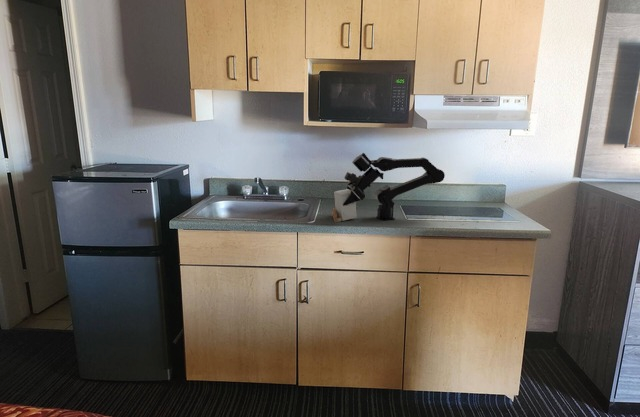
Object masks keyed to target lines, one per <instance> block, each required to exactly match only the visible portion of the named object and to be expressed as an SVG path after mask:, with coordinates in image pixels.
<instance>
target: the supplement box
mask: <svg viewBox="0 0 640 417" xmlns="http://www.w3.org/2000/svg"><path fill="white" fill-rule="evenodd" d="M350 191H351V190H349V189H347V188H346V189H342V190H341V189H339V190H336V191H334V192H333V194H334V203H335V204H334V205H335V207H334V208H335V210H336V212H337V218H341V222H344V221H347V220H352V219H357V217H358V216H357V202H354V203H351V204H348V205H345V206H344V205H343V203H344V202H345V201H346V199H347V198H348V197H349V196H350ZM353 192H354V191H353Z"/></svg>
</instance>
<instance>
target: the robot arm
mask: <svg viewBox="0 0 640 417" xmlns="http://www.w3.org/2000/svg"><path fill="white" fill-rule="evenodd" d="M352 164H353V166H355V167H356V169H357V170H358V171H359V172H364V173H363V174H362V175H358V176H357V175H356V174H355V173H354V172H352V173H350V172H348V171H347V172H346V173H345V176H344V180H345V181H348V182H347V183H346V189H349V190H351V191H350V196H349V197H348V198H347V199H346V201H345V202H344V203H343V205H344V206H345V205H348V204H351V203H354V202H356V203H357V202H358V201H363V200H364V199H365V198H366V193H365V191H366V190H367V189H368V188H370V187H371V186H372V184H373V183H374V182H375V181H376V180H377V179H378V178H380V179H381V180H383V179H384V173H383V172H388V171H392V170H396V169H405V168H422V169H423V170H424V171H425V172H424V173H423V174H422V175H420V176H417V177H415V178H413V179H410V180H407V181H404V182H402V183H399V184H398V185H394V186H389V185H388V184H386V185H384V186H382V187H378V189H377V190H376V192H375V193H374V194H375V195H374V196H375V199H376V200H377V202H379V205H378V208H377V213H376V214H377V215H376V216H375V217H376V218H377V219H379V220H382V221H390V220H391V221H392V220H395V219H396V218H395V217H394V208H395V203H396V202H394V201H393V199H395V198H396V197H398V196H399V195H400V196H401V195H402V194H404V193H407V192H409V191H412V190H415V189H417V188H420V187H422V186H425V185H429V184H431V185H433V184H438V183H442V182H443V181H444V178H445V176H446V174H445V172H444V171H443V170H442V169H439V168H437V167H436V166H435V165H434V164H433V163H432V162H431V161H430V160H429V159H428V158H426V157H418V158H417V157H416V158H392V157H384V156H381V157H378V159H373V160H370V158H369V157H368V156H367V155H366V153H364V152H362V153H361V154H359V155H358V156H356V157H355V158H354V159H353V160H352ZM372 166H373V167H372ZM381 171H382V172H381ZM353 191H354V192H353Z"/></svg>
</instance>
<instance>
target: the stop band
mask: <svg viewBox="0 0 640 417" xmlns="http://www.w3.org/2000/svg"><path fill="white" fill-rule="evenodd" d="M332 217H333V220H334V222H335V223H337V222H338V223H339V222H342V220H341V218H337V212H336V207H332Z"/></svg>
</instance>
